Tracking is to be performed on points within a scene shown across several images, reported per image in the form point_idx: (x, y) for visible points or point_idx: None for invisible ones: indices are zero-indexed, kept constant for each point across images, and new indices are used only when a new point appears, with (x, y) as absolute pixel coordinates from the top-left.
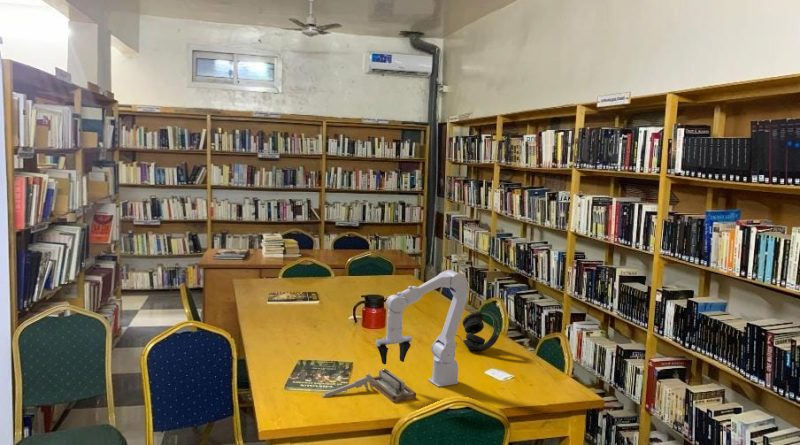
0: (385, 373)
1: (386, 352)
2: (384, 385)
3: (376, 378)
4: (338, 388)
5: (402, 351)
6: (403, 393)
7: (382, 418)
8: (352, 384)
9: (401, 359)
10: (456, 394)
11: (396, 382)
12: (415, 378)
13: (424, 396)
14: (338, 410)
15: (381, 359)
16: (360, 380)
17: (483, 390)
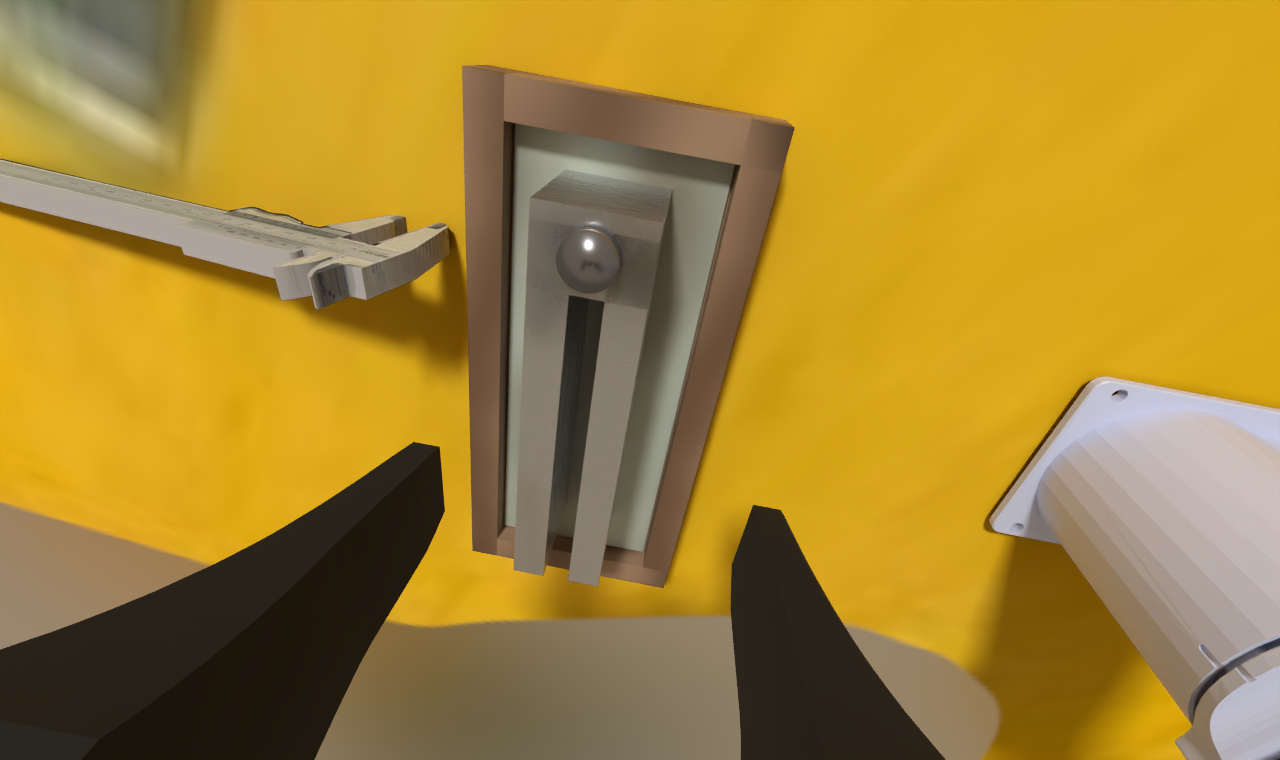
0: (556, 336)
1: (297, 753)
2: None
3: (555, 127)
4: (32, 195)
5: (760, 731)
6: None
7: None
8: (165, 242)
9: (739, 572)
10: (955, 639)
11: (527, 557)
12: (1051, 260)
13: None
14: (95, 431)
15: (371, 471)
16: (236, 265)
17: None
